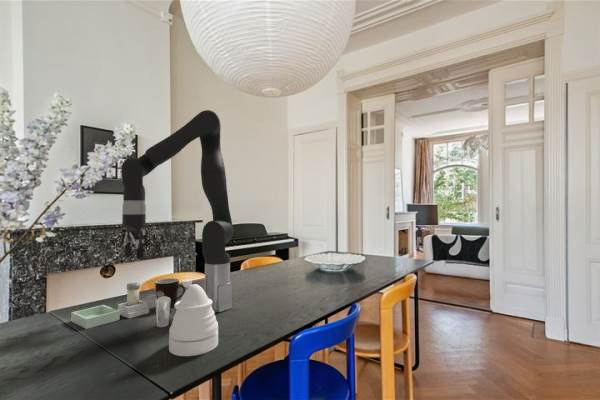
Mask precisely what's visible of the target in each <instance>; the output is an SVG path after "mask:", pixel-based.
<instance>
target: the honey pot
mask: <svg viewBox="0 0 600 400" xmlns="http://www.w3.org/2000/svg"><path fill="white" fill-rule="evenodd" d="M181 283H182V284H181V285H182V286H184V288H185V293H184V294H183V296H182V297H180V300H177V302H176V303H175V305H174V309H175V310H176V311H175V314H173V320H172V321H171V325H170V327H169V330H168V332H169V333H168V334H169V337H168V351H169V353H170V354H173V355H175V356H179V357H191V356H192V357H194V356H199V355H203V354H206V353H208V352H210V351H212V350H213V351H214V349H216V348H217V346H218V345H219V323H218V321H217V317H216V315H215V312H214V311H213V309H212V306H211V305H212V300H211V299H209V298H208V297H207V295H206V293H205V289H203V287H201V286H200V285H199V284H197V283H193V279H189V278H187V279H182V281H181ZM192 283H193V284H192ZM186 288H187V289H186Z"/></svg>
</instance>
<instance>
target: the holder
mask: <svg viewBox="0 0 600 400" xmlns="http://www.w3.org/2000/svg"><path fill="white" fill-rule="evenodd" d="M148 304H149V303H148V302H147V301H145V300H144V301H143V300H140V299H139V304H138V305H134V306H130V307H129V306H127V301H126V302H122V303H118V305H117V309H116V310H119V311H120V316H122V317H125V318H127V319H133V318H135V317H136V318H137V317H139V316H144V315H146V314H150V308H149V307H148Z"/></svg>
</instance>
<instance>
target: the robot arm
mask: <svg viewBox="0 0 600 400" xmlns="http://www.w3.org/2000/svg"><path fill="white" fill-rule="evenodd" d="M220 120H221V119H220V117H219V115H218V114H217V113H216V112H215V111H213V110H209V109H205V110H202V111H200V112H199V113H197V114H196V115H195V116H193V118H191V119H190V120H189V121H188V122H186V124H185V125H183V126H182V127H180V128H179V129H177V130H176V131H175V132H173V133H172V134H170V135H169V136H167V137H165V138H164V139H162V140H160V141H158V142H157V143H155V144H154V145H152V146H150V147H149V148H147V149H146V150H145V152H144V153H143V154H142V155H141V156H139V157H138V158H135V157H128V158H126V159H125V160H124V161H122V164H121V168H120V169H121V171H120V172H121V173H120V174H121V178H122V179H121V180H122V185H123V202H122V214H121V215H122V219H121V220H122V223H121V224H122V226H123V227H125V228H122V229H121V231H120V232H121V235H120V236H121V237H120V244H121V246H122V245H123V247H124V252H123V253H124V257H125V258H129V257H132V245H133V244H135V247H136V249H135V250H136V252H135V256H136V257H135V259H137V260H142V259H143V258H144V248H145V247H148V229H142V227H145V226H146V219H147V215H146V213H147V212H146V211H147V210H146V209H147V208H146V188H145V186H144V184H143V183H144V182H143V181H144V177H146V176H147V175H149V174H150V173H151V172H153V171H154V170H155V169H156V168H158V166H160V165H162V164H164V163H165V162H167V161H169V160H170V159H172V158H174V157H175V156H176V155H178V153H180V152H181V151H182V150H183V149H184V148H185V147H186V146H187V145H189V144H190V143H192V142H193V141H195V140H197V139H198V138H199V141H200V142H199V143H200V148H201V159H200V176H201V185H202V187H201V188H202V190H203V192H204V195H205V198H206V199H207V201H208V203H209V205H210V207H211V208H210V209H211V213H212V220H209V221H207V223H205V224H204V225H203V228H202V232H201V239H202V240H201V241H202V242H201V243H202V247H201V248H202V255H203V258H204V291H205V293H206V295H207V297H208V298H209V299H211V300H212V305H211V306H212V309H213V311H214V313H221V312H224V311H227V310H230V309H233V306H232V305H233V304H232V303H233V300H232V299H233V296H232V295H233V293H232V292H233V291H232V290H233V288H232V287H233V283H232V282H231V255H230V254H229V253H228V252H227V250H226V243H229V242H230V241H231V240H232V238H233V235H234V225H233V221H232V216H231V211H230V206H229V196H228V187H227V184H228V183H227V174H226V168H225V162H224V158H223V154H222V149H221V131H222V130H221V128H222V127H221V121H220Z"/></svg>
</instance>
